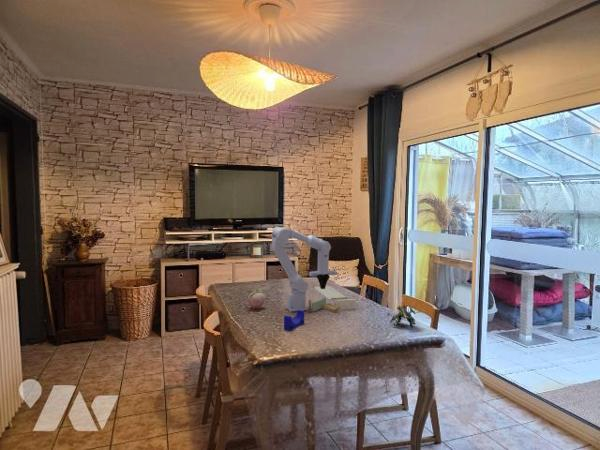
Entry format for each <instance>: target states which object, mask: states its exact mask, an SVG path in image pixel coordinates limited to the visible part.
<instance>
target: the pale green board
mask: <svg viewBox="0 0 600 450" xmlns="http://www.w3.org/2000/svg"><path fill="white" fill-rule="evenodd" d="M336 306H338V307H340V308H341V311H347V310H355V309H356V299H355V298H347V299H336ZM308 313H310V314H311V313H312V300H311V299H309V300H308Z"/></svg>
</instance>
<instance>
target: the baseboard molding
mask: <svg viewBox="0 0 600 450" xmlns="http://www.w3.org/2000/svg"><path fill="white" fill-rule="evenodd" d="M312 288H313V289H315V290H316V291H318V292H319V294H321V295H322V296H323V297H324V298H326V299H328V300H346V299H348V298H347V296H346V295H344V294H342V293H341V292H339V291H338V290H336V289H335V288H333V287H332V286H330V285H326V287H325V289H321V288H320V285H319V286H318V285H315V284H314V285H313V286H312Z"/></svg>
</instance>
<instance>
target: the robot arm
mask: <svg viewBox="0 0 600 450" xmlns="http://www.w3.org/2000/svg"><path fill="white" fill-rule="evenodd" d="M270 237H271V245H272V247H271V248H272V250H273V253H274V255H275V256H276V258H277V260H278V261H279V263H280V265H281V267H282V268H283V270H284V271H285V273H286V275H287V277H288V279H287V281H288V282H289V287H290V289H291V292H287V294H286V308H285V309H287V310H288V311H290V312H297V310H302V311H304V312H305V311H309V308H308V307H307V306H306V305H307V304H306V297H307V296H306V295H307V293H306V292H307V291H308V289H309V284H308V282H307V281H306V280H305V279H304V278H303V277H302V276H301V275H300V274H299V272H298V271H297V268H296V267H295V266H294V264H293V262H292V260H291V258H290V256H289V255H288V252H287V251H286V249H285V245H286V244H287V242H288V241H289V239H290V240H291V239H296V240H298V241H300V242H301V241H302V242H304V243H305V245H306V246H307V247H310V248H312V249H315V250H317V270H315V271H309V276H310V277H315V276H316V278H317V280H318V282H319V283H318V284H319V286H320V288H321V289H325V287H326V286H327V283H328V281H329V280H330V276H332V275H333V276H335V275H336V276H337V271H336V270H329V263H330V262H329V259H330V258H329V256H330V250H331V249H332V246H331V244H330V242H329V241H326V240H323V238H318V237H316V235H315V234H312V235H311V234H310V235H305V234H303V233H301V232H298V231H296V230H294V229H290V228H287V227H280V226H276V227H275V228H274V229H272V232H271V235H270Z"/></svg>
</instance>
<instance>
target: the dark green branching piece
mask: <svg viewBox="0 0 600 450" xmlns="http://www.w3.org/2000/svg"><path fill="white" fill-rule="evenodd" d="M396 308H397V310H398V311H399V312H398V313H397V314H395V315H393V316H392V315H391V313H390V312H387V315H386V316H387V317H389V316H390V317H391V320H390V321H389V324H391V323H392V322H394V323H395V324H394V326H393V328H396V326H397V325H398V324H400V323H401V321H402V319H405V320H406V321H408V323H409V326H410V328H412V327H413V328H414V325H416V319H415V318H414V317H413V316H412V313H413V314H414V315H416V311H415V310H414V309H413V308H412V307H409V310H410V311H407V309H405V307H403V306H401V305H398V306H397V307H396Z"/></svg>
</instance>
